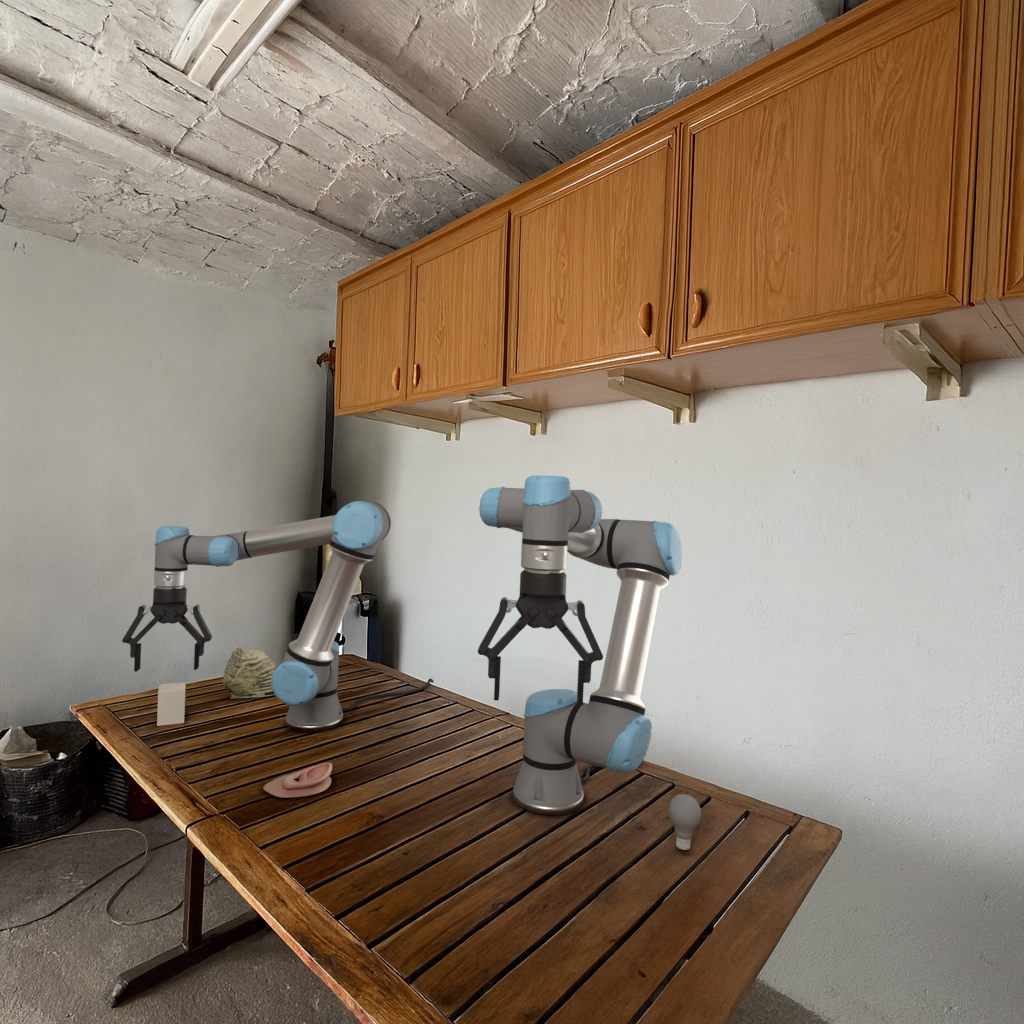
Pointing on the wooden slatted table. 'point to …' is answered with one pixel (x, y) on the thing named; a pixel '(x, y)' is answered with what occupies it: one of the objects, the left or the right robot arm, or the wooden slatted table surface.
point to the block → (171, 704)
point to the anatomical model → (301, 782)
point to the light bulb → (684, 818)
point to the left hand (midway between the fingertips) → (167, 669)
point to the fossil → (249, 673)
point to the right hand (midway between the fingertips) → (538, 700)
